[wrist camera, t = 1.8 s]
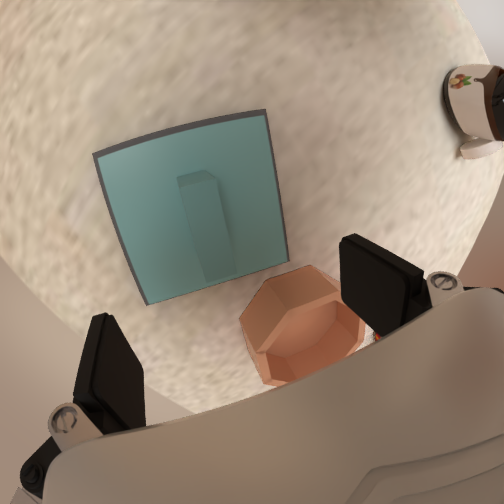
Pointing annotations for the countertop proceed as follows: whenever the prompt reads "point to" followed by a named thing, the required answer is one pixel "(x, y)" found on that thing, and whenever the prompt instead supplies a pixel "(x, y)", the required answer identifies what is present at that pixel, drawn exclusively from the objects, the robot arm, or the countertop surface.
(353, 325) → the bowl
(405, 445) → the robot arm
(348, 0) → the countertop surface
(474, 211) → the countertop surface
